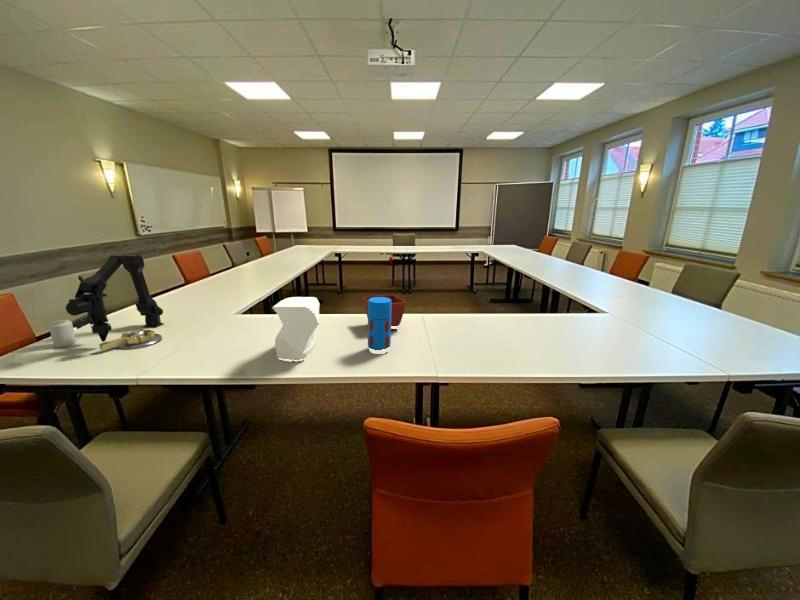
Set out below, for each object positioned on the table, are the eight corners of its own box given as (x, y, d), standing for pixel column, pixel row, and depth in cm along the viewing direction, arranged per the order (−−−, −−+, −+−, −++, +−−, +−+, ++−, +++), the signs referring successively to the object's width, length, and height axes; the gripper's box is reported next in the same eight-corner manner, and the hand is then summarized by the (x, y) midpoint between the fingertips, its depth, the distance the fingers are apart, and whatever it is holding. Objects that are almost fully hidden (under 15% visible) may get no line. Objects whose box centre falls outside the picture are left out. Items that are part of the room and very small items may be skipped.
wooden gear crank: (145, 333, 166) (144, 326, 165) (159, 337, 161) (158, 330, 160) (94, 347, 148) (92, 339, 147) (108, 352, 143) (107, 345, 142)
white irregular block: (266, 364, 140) (261, 306, 133) (293, 340, 166) (290, 291, 159) (314, 368, 138) (312, 309, 131) (334, 343, 164) (333, 293, 157)
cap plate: (137, 334, 168) (135, 324, 166) (171, 336, 166) (169, 326, 165) (104, 348, 150) (101, 337, 149) (141, 350, 149) (139, 339, 148)
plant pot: (362, 323, 194) (362, 296, 190) (392, 320, 201) (393, 294, 197) (372, 335, 177) (373, 305, 173) (405, 331, 184) (406, 302, 180)
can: (62, 349, 148) (56, 323, 145) (49, 347, 150) (43, 322, 147) (81, 342, 156) (75, 318, 152) (68, 341, 157) (62, 317, 154)
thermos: (378, 356, 151) (379, 304, 144) (363, 350, 158) (363, 299, 151) (394, 350, 159) (396, 300, 152) (379, 343, 166) (380, 295, 159)
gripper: (70, 307, 147) (78, 339, 151) (72, 317, 134) (80, 352, 138) (103, 302, 155) (109, 334, 159) (108, 312, 142) (115, 345, 146)
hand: (103, 341), depth 150 cm, fingers closed
